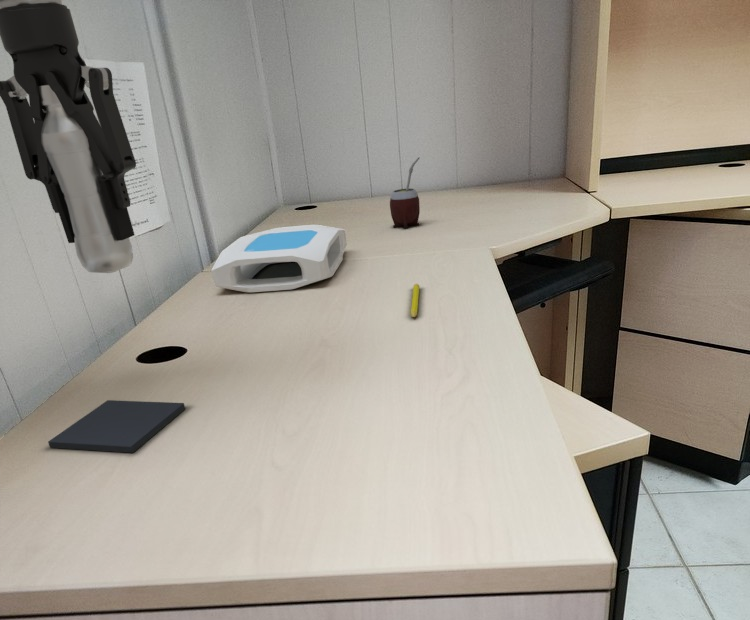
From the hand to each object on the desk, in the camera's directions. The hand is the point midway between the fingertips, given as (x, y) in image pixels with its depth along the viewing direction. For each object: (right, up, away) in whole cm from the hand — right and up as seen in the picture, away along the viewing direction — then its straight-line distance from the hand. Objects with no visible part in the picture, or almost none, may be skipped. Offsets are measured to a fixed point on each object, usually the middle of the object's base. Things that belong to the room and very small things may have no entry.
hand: (101, 238), depth 81 cm
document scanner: (+16, +14, +52) cm, 56 cm away
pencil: (+40, -1, +25) cm, 47 cm away
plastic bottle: (0, -3, +2) cm, 4 cm away
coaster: (+4, -24, -4) cm, 24 cm away
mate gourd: (+42, +34, +79) cm, 96 cm away
